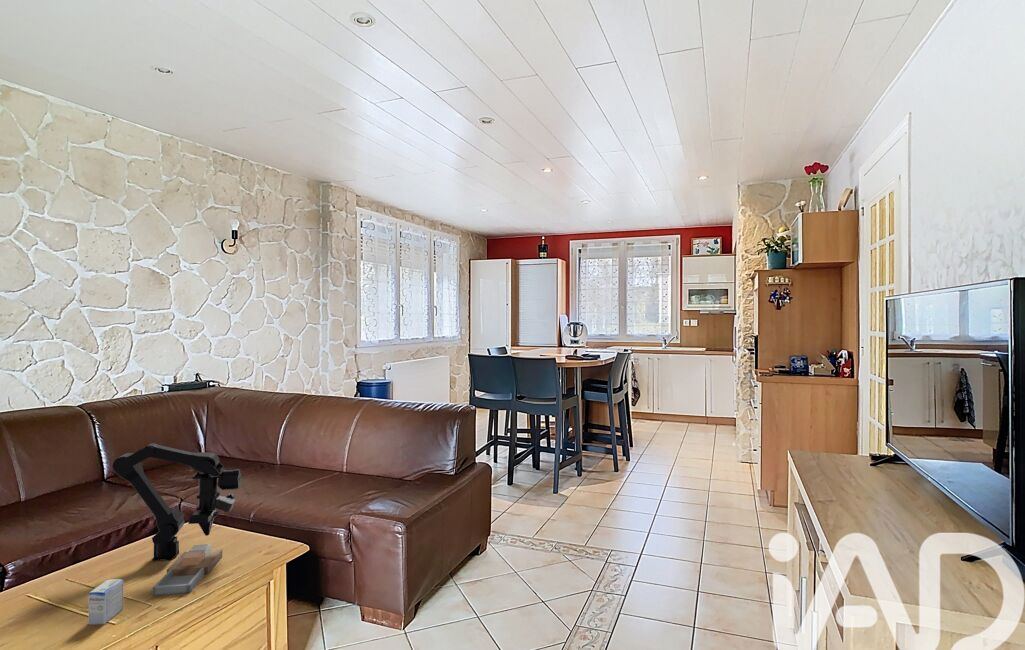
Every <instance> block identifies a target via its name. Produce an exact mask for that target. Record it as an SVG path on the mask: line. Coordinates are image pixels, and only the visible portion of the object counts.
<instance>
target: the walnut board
mask: <svg viewBox="0 0 1025 650" xmlns="http://www.w3.org/2000/svg"><path fill="white" fill-rule="evenodd" d="M187 552H188V551H183V552H182V554H180V556H179V557H177V559H176V560H175V561H174V562H173V563H172V564H171V565H170V566H168V568H167V569H166V573H167V572H168V571H169V570H173V576H185V575H196V574H197V573H198V572H199V570H200V569H201V568H204V576H208V575H209V574H210V573H211V571H212V570H213V569H214V568H215V567H216V565H217V564H218V563H219V562H220V561H221V559H222V558H223V549H213V550H212V549H210V552H209V554H208V555H207V556H206V557H205V558H204V559H203V560H202V562H201V563H200V564H199V565H189V566H182V557H183V556H184V555H185V554H186V553H187Z"/></svg>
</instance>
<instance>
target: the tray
mask: <svg viewBox="0 0 1025 650" xmlns="http://www.w3.org/2000/svg"><path fill="white" fill-rule="evenodd" d="M165 573H166V574H165V575H164V576H163V577H161V579H160V580H158V582H156V583H155V584H154V586H152V596H165V595H179V594H181V595H182V594H190V593H191V592H192V591H193V590H194V588H195V587H196V586H197V585H198V584H199V582H200V581H201V580H202V579H203V578H204V576H205V575H204V568H201V569H200V570H199V572H198V573H197V574H196V575H185V576H173V570H169V571H168V572H167V571H166V572H165Z"/></svg>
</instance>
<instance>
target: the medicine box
mask: <svg viewBox="0 0 1025 650" xmlns="http://www.w3.org/2000/svg"><path fill="white" fill-rule="evenodd" d="M123 609H124V579H118V578H117V579H114V578H113V579H106V580H105V581H103V582H102V583H100V584H98V586H97V587H95V588H94V589H93V590H91V591H90V592H88V617H87V618H88V621H87V622H88V625H93V626H94V625H106V624H107V623H108V622H109V621H110V620H112V619H113V618H114V617H115V616H116V615H117V614H118V613H120V612H121V611H122V610H123Z"/></svg>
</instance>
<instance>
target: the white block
mask: <svg viewBox="0 0 1025 650" xmlns="http://www.w3.org/2000/svg"><path fill="white" fill-rule="evenodd" d="M210 550H211V543H210V544H209V543H207V544H206V543H205V544H194V545H193V546H192V547H191V548H190V549H189V550H188V552H194V551H204V558H205V557H206V556H207V555H208V554H209V552H210Z"/></svg>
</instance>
